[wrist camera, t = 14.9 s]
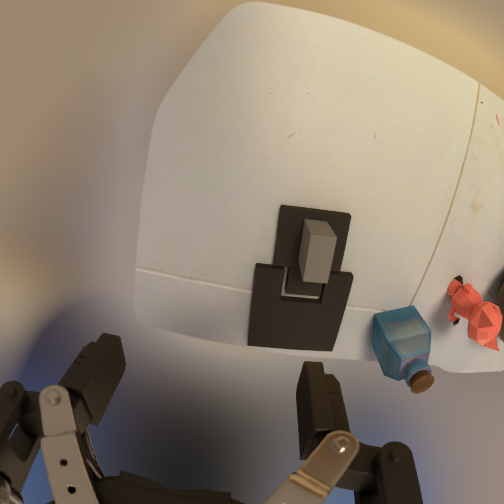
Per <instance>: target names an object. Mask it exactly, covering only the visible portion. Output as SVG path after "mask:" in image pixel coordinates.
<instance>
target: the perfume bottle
mask: <svg viewBox="0 0 504 504" xmlns="http://www.w3.org/2000/svg"><path fill="white" fill-rule="evenodd" d="M430 344H431V330H430V328H429V327H428V325H427V324H426V322H425V321H424V320H423V318H422V317H421V315H420V314H419V312H418V311H417V309H416V308H415V307H414V306H410V307H405V308H401V309H396V310H392V311H387V312H382V313H377V314H375V317H374V337H373V349H374V351H375V354H376V356H377V359H378V361H379V364H380V366H381V369H382V371H383V374H384V375H385V376H387V377H390V378H392V379H395V380H397V381H399V380H402V379H405V381H406V383H407V385H408V386H409V387H411V391H412V393H416V394H417V393H421V392H424V391H426V390H427V389H428V388H430V387H431V385H432V384H433V382H434V377H433V376H432V375H431V373H432V371H431V369H430V367H429V365H428V364H427V362H428V358H429V354H430Z"/></svg>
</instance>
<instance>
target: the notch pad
mask: <svg viewBox="0 0 504 504" xmlns="http://www.w3.org/2000/svg"><path fill="white" fill-rule="evenodd" d="M284 272H285V268H284V266H275V265H269V264H260V263H256V271H255V280H254V290H253V299H252V308H251V317H250V327H249V336H248V346H258V347H270V348H282V349H296V350H313V351H332V350H333V347H334V344H335V341H336V338H337V335H338V331H339V328H340V325H341V321H342V318H343V314H344V311H345V307H346V304H347V300H348V296H349V293H350V289H351V285H352V281H353V277H354V276H353V275H352V273H351V272H337V271H330V274H329V279H328V283H323V286H322V291H321V295H320V299H311V298H299V297H288V296H281V291H282V285H283V278H284Z"/></svg>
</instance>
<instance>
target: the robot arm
mask: <svg viewBox="0 0 504 504" xmlns="http://www.w3.org/2000/svg"><path fill="white" fill-rule="evenodd" d="M125 366H126V362H125V357H124V352H123V348H122V343H121V339H120V337H119V336H116V335H111V334H107V333H103V334H102V335H101V336H100V338H99V339H98V340H97V342H91V343H89V344H88V345H86V346H85V347H84V348H83V349H82V350H81V352H80V353H79V355H78V356H77V357H76V359H75V360H74V363H72V364H71V366H70V367H69V369H68V370H67V372H66V373H65V375H64V376H63V378H62V379H61V381H60V382H59V383H58V385H51V386H48V387H46V388H44V389H43V390H42V392H32V391H25V389H24V387H23V385H22V384H21V383H19V382H17V381H9V382H6V383H5V384H3V385H2V386H1V388H0V504H23V497H22V495H21V491H22V488H23V486H24V483H25V481H26V478H27V476H28V473H29V471H30V469H31V467H32V464H33V462H34V460H35V457H36V455H37V453H38V451H39V449H40V446H41V447H42V452H43V457H44V462H45V466H46V471H47V475H48V479H49V483H50V486H51V490H52V494H53V497H54V500H53V501H51V502H49V503H47V504H244V503H241V502H239V501H237V500H234V499H231V493H228V492H219V491H212V490H205V489H197V490H171V489H169V488H167V487H165V486H163V485H160V484H158V483H156V482H154V481H152V480H150V479H148V478H146V477H142V476H139V475H135V474H131V473H128V472H125V471H122V470H121V472H120V475H119V476H107V477H105V476H104V474H103V472H102V470H101V468H100V466H99V464H98V461H97V459H96V456H95V453H94V450H93V447H92V444H91V441H90V438H89V434H88V431H87V429H86V428H87V426H88V424H89V423H90V424H93V425H96V426H98V424H99V422H100V420H101V418H102V416H103V414H104V412H105V410H106V407H107V406H108V404H109V402H110V400H111V398H112V396H113V394H114V392H115V390H116V388H117V386H118V384H119V382H120V380H121V378H122V375H123V374H124V371H125ZM341 393H342V392H341V387H340V383H339V382H338V380H337V379H336V378H335V376H334V375H333V374H325V373H324V368H323V363H322V362H310V361H308V362H307V361H305V362H304V363H303V367H302V370H301V374H300V377H299V381H298V384H297V390H296V402H297V403H296V404H297V418H298V432H299V449H300V460H306V461H305V462H304V463H303V464H302V465H301V466H300V467H299V468H298V470H296V472H293V473H292V474H290V476H288V477H287V478H286V480H285V481H284V482H283V483H282V484H281V485H280V486H279V487H278V488H277V489H276V490H275V491H274V492H273V493H272V494H271V495H270V496H269V497H268V498H267V499H266V500H265V501H264V502H263V503H262V504H322V503H323V501H324V500H325V499H326V498H327V496H328V495H329V493H330V492H331V490H332V489H333V488H334V487H339V488H343V489H349V490H354V498H355V504H423V501H422V495H421V491H420V486H419V481H418V477H417V472H416V468H415V463H414V459H413V455H412V452H411V450H410V449H409V447H408V446H406V445H405V444H403V443H401V442H389V443H387V444H385V445H384V446H383V447H382V448H381V447H375V446H370V445H366V444H363V443H361V442H359V441H358V440H357V438H356V437H355V436H354V435H353V434H351V432H350V429H349V424H348V420H347V415H346V410H345V405H344V402H343V396H342V394H341ZM16 424H17V426H16V428H15V430H14V432H13V434H12V436H11V437H10V434H11V433H12V431H13V429H14V427H15V425H16ZM9 437H10V439H9Z"/></svg>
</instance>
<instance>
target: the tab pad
mask: <svg viewBox="0 0 504 504" xmlns="http://www.w3.org/2000/svg"><path fill="white" fill-rule="evenodd" d="M350 220H351V215H350V214H349V213H344V212H336V211H328V210H321V209H313V208H304V207H296V206H287V205H281V208H280V217H279V225H278V233H277V241H276V249H275V257H274V265H275V266H285V267H289V270H288V276H287V283H286V293H287V294H298V295H309V296H319V295H320V290H321V285H322V283H328V279H329V274H330V271H337V272H340V269H341V264H342V260H343V255H344V250H345V246H346V241H347V236H348V231H349V225H350Z"/></svg>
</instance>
